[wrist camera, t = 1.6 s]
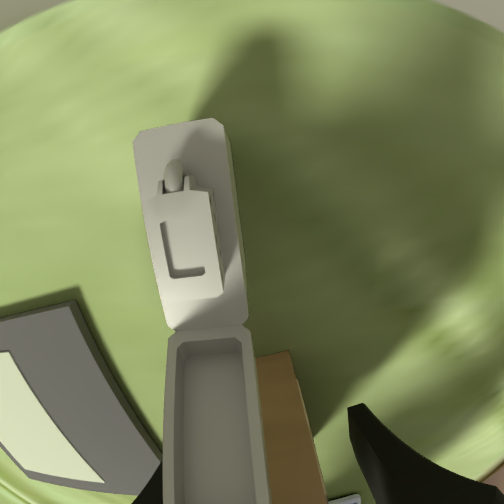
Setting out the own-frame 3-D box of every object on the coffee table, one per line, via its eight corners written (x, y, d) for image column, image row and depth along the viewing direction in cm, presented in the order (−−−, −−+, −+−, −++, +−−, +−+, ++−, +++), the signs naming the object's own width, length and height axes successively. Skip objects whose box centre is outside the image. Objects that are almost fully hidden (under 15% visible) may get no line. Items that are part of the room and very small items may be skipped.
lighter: (175, 145, 9) (-2, 104, 2) (229, 137, 9) (192, 36, 2) (209, 342, 11) (184, 548, 4) (255, 338, 11) (276, 546, 4)
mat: (189, 488, 14) (188, 497, 13) (31, 473, 15) (28, 479, 14) (75, 299, 11) (67, 307, 10) (-65, 333, 11) (-71, 338, 10)
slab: (311, 440, 13) (339, 560, 6) (250, 453, 13) (257, 573, 7) (290, 349, 12) (331, 509, 5) (213, 366, 12) (198, 527, 5)
